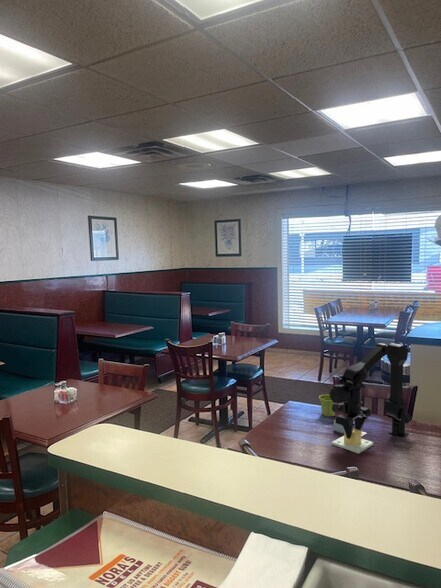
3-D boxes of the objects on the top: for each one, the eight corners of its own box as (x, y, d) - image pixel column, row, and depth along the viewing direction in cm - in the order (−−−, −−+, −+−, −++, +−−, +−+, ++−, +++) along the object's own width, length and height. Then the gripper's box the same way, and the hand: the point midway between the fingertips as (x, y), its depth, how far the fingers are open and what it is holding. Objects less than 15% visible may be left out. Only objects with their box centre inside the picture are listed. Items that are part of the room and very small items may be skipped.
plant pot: (340, 413, 216) (341, 396, 215) (334, 419, 208) (335, 401, 207) (322, 410, 221) (322, 393, 220) (316, 415, 213) (316, 398, 212)
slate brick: (339, 427, 198) (339, 416, 198) (349, 430, 195) (349, 419, 194) (333, 430, 195) (333, 419, 194) (343, 433, 191) (343, 422, 191)
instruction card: (356, 430, 195) (356, 429, 195) (367, 433, 191) (367, 432, 191) (349, 433, 191) (349, 433, 191) (360, 437, 187) (360, 436, 187)
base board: (347, 436, 188) (347, 433, 188) (373, 444, 180) (373, 441, 180) (331, 444, 180) (331, 441, 180) (358, 453, 171) (358, 450, 171)
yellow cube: (361, 442, 180) (361, 430, 179) (355, 445, 176) (355, 433, 176) (350, 438, 183) (350, 427, 183) (344, 441, 180) (344, 430, 180)
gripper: (347, 390, 191) (347, 425, 192) (323, 399, 178) (323, 436, 179) (371, 395, 183) (370, 432, 184) (348, 406, 170) (347, 445, 171)
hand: (352, 436), depth 180 cm, fingers open, 7 cm apart
